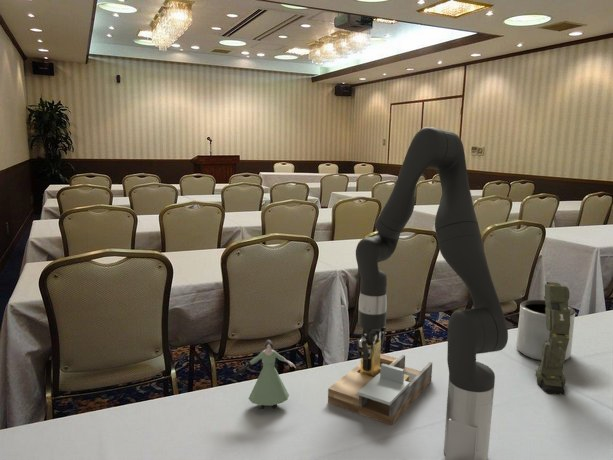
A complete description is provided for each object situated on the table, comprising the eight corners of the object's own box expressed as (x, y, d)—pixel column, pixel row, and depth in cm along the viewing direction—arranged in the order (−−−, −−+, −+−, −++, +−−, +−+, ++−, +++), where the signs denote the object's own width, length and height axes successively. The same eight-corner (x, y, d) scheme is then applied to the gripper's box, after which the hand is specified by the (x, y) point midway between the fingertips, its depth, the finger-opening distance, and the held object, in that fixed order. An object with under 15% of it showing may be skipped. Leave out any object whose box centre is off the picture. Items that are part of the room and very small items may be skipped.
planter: (580, 364, 153) (586, 316, 150) (527, 363, 153) (532, 315, 150) (556, 343, 169) (560, 299, 166) (508, 342, 169) (512, 298, 166)
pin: (360, 375, 138) (361, 341, 136) (366, 370, 142) (368, 337, 140) (373, 379, 136) (374, 345, 134) (379, 373, 139) (381, 340, 137)
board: (391, 425, 120) (392, 404, 119) (327, 402, 130) (328, 383, 129) (431, 380, 142) (432, 362, 141) (374, 364, 152) (374, 347, 151)
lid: (389, 405, 118) (390, 388, 117) (357, 394, 123) (358, 378, 122) (409, 385, 128) (410, 369, 127) (379, 375, 132) (379, 360, 132)
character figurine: (234, 418, 122) (233, 349, 118) (233, 401, 130) (232, 336, 126) (298, 412, 125) (299, 345, 121) (293, 396, 133) (293, 332, 129)
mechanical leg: (574, 399, 131) (577, 285, 132) (544, 396, 132) (548, 283, 134) (558, 386, 144) (561, 282, 146) (531, 383, 146) (535, 281, 147)
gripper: (373, 319, 127) (370, 381, 131) (396, 304, 139) (393, 361, 142) (347, 313, 131) (345, 373, 135) (371, 299, 143) (369, 354, 146)
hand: (370, 367), depth 138 cm, fingers closed on pin, 3 cm apart
